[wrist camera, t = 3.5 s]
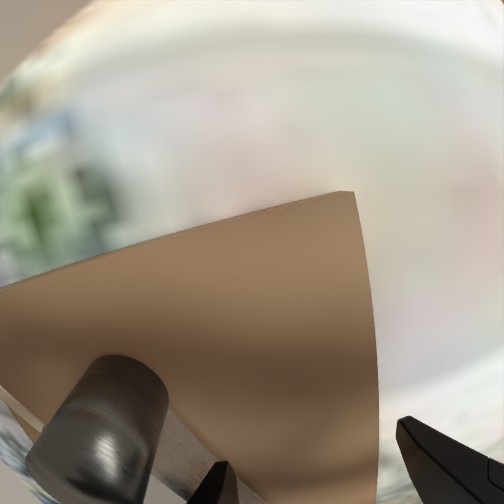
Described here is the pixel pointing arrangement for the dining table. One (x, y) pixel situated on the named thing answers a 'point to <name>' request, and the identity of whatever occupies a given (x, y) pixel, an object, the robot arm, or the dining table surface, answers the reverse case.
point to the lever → (121, 442)
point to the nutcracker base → (224, 343)
